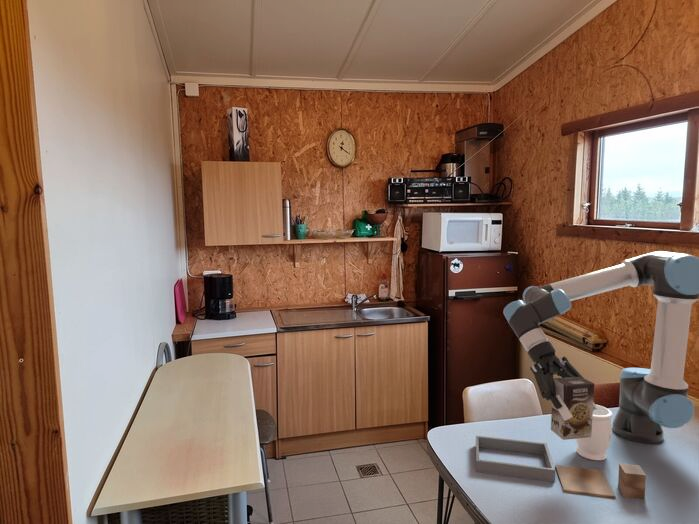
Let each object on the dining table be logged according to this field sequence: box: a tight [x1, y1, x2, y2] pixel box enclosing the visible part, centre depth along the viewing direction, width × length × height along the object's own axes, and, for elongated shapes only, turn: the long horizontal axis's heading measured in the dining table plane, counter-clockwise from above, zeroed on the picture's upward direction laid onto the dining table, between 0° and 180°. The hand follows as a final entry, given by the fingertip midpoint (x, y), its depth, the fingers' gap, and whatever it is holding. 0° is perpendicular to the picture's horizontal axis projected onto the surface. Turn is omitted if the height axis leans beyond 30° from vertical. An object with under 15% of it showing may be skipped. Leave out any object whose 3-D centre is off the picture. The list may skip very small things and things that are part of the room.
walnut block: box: [617, 462, 647, 501], centre depth 125 cm, size 5×5×7 cm
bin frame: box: [475, 435, 556, 483], centre depth 142 cm, size 22×16×4 cm
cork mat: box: [554, 464, 616, 499], centre depth 131 cm, size 13×13×1 cm
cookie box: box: [550, 376, 595, 441], centre depth 131 cm, size 9×6×16 cm
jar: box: [575, 404, 613, 461], centre depth 145 cm, size 11×10×15 cm
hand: (581, 414), depth 128 cm, fingers closed on cookie box, 10 cm apart
